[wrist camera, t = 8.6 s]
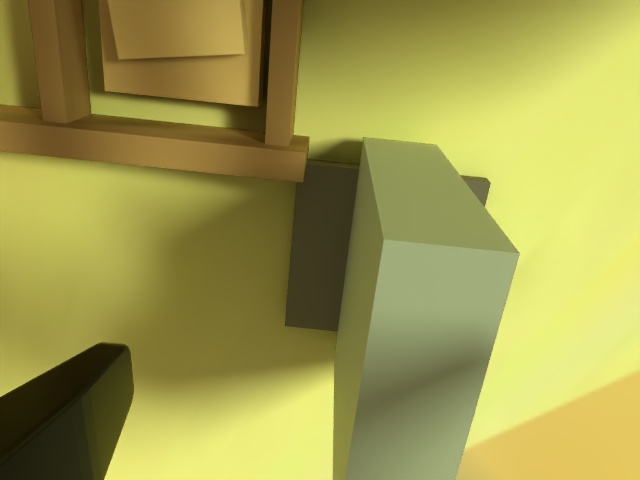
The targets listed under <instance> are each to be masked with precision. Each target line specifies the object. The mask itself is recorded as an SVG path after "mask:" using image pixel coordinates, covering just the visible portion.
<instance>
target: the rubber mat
mask: <svg viewBox="0 0 640 480" xmlns="http://www.w3.org/2000/svg"><path fill="white" fill-rule="evenodd" d="M359 166H360V165H356V164H346V163H337V162H327V161H318V160H307V166H306V171H305V176H304V181H303V182H297V186H296V199H295V211H294V223H293V235H292V247H291V260H290V272H289V284H288V296H287V309H286V321H285V326H291V327H301V328H310V329H320V330H330V331H338V326H339V318H340V310H341V303H342V295H343V288H344V280H345V273H346V265H347V257H348V250H349V242H350V235H351V227H352V219H353V212H354V204H355V197H356V189H357V182H358V174H359ZM460 176H461V177H462V179H463V180H464V181H465V182H466V184H467V185H468V186H469V188H470V189H471V190H472V192H473V193H474V194H475V196H476V197H477V198H478V199H479V201H480V202H481V203H482V205H483V206H484V207H485V204H486V200H487V196H488V192H489V188H490V184H491V183H490V182H489V181H488V179H487V178H481V177H471V176H462V175H460Z"/></svg>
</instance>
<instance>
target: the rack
mask: <svg viewBox="0 0 640 480" xmlns="http://www.w3.org/2000/svg"><path fill="white" fill-rule="evenodd" d="M303 1H304V0H273V2H272V20H271V39H270V58H269V76H268V95H267V114H266V132H259V131H249V130H240V129H230V128H220V127H211V126H201V125H192V124H182V123H173V122H163V121H153V120H144V119H134V118H125V117H115V116H106V115H96V114H91V105H90V94H89V82H88V70H87V58H86V46H85V34H84V23H83V11H82V0H28V4H29V13H30V21H31V29H32V37H33V45H34V53H35V61H36V69H37V78H38V86H39V94H40V102H41V109H39V108H29V107H19V106H10V105H0V151H4V152H14V153H24V154H33V155H43V156H52V157H62V158H72V159H81V160H91V161H101V162H110V163H120V164H130V165H139V166H149V167H158V168H168V169H178V170H187V171H197V172H207V173H216V174H226V175H236V176H245V177H255V178H264V179H274V180H284V181H293V182H303V181H304V176H305V171H306V166H307V160H308V150H309V138H310V137H307V136H297V135H293V133H294V119H295V106H296V93H297V80H298V67H299V53H300V40H301V27H302V14H303Z"/></svg>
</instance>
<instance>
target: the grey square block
mask: <svg viewBox="0 0 640 480" xmlns="http://www.w3.org/2000/svg"><path fill="white" fill-rule="evenodd" d="M519 254H520V253H519V252H518V250H517V249H516V248H515V247H514V245H513V244H512V243H511V241H510V240H509V239H508V237H507V236H506V235H505V233H504V232H503V231H502V230H501V228H500V227H499V226H498V224H497V223H496V222H495V220H494V219H493V218H492V216H491V215H490V214H489V213H488V211H487V210H486V209H485V207H484V206H483V205H482V203H481V202H480V201H479V199H478V198H477V197H476V196H475V194H474V193H473V192H472V190H471V189H470V188H469V186H468V185H467V184H466V182H465V181H464V180H463V179H462V177H461V176H460V175H459V173H458V172H457V171H456V169H455V168H454V167H453V166H452V164H451V163H450V162H449V160H448V159H447V158H446V156H445V155H444V154H443V152H442V151H441V150H440V149H439V147H438V146H437V145H434V144H424V143H415V142H405V141H396V140H386V139H376V138H367V137H363V144H362V151H361V159H360V166H359V174H358V182H357V189H356V197H355V204H354V212H353V219H352V227H351V235H350V242H349V250H348V257H347V265H346V273H345V280H344V288H343V295H342V303H341V310H340V318H339V326H338V333H337V341H336V348H335V360H334V429H333V480H456V476H457V472H458V469H459V465H460V462H461V459H462V455H463V452H464V448H465V445H466V441H467V438H468V434H469V430H470V427H471V423H472V420H473V416H474V413H475V409H476V406H477V402H478V399H479V395H480V392H481V388H482V385H483V381H484V378H485V374H486V371H487V367H488V363H489V360H490V356H491V353H492V349H493V346H494V342H495V339H496V335H497V332H498V328H499V325H500V321H501V318H502V314H503V311H504V307H505V304H506V300H507V297H508V293H509V289H510V286H511V282H512V279H513V275H514V272H515V268H516V265H517V261H518V258H519Z"/></svg>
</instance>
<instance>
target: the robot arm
mask: <svg viewBox="0 0 640 480" xmlns="http://www.w3.org/2000/svg"><path fill="white" fill-rule="evenodd" d="M133 394H134V384H133V374H132V364H131V354H130V350H129V348H128V347H127V346H126V345H125V344H117V343H106V342H102V343H98V344H96V345H94V346H92V347H90V348H89V349H87V350H85V351H83V352H81V353H80V354H78V355H76V356H74V357H72V358H70V359H69V360H67V361H65V362H63V363H61V364H60V365H58V366H56V367H54V368H52V369H50V370H49V371H47V372H45V373H43V374H41V375H40V376H38V377H36V378H34V379H32V380H30V381H29V382H27V383H25V384H23V385H21V386H19V387H18V388H16V389H14V390H12V391H10V392H9V393H7V394H5V395H3V396H1V397H0V480H104V478H105V476H106V473H107V470H108V467H109V464H110V462H111V459H112V456H113V453H114V451H115V448H116V445H117V442H118V439H119V437H120V434H121V431H122V428H123V426H124V423H125V420H126V417H127V414H128V412H129V409H130V406H131V403H132V399H133Z"/></svg>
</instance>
